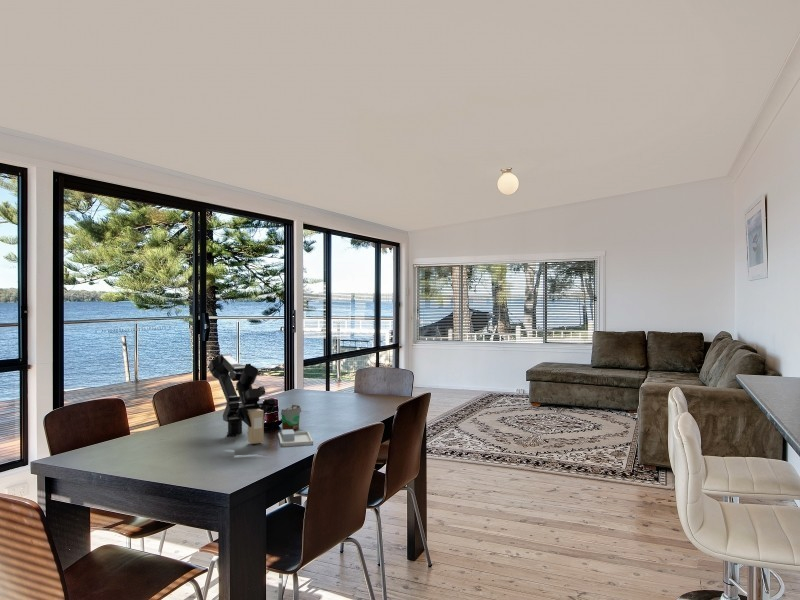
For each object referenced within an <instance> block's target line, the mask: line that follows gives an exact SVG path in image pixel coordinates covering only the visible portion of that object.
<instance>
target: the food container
mask: <svg viewBox="0 0 800 600" xmlns="http://www.w3.org/2000/svg"><path fill="white" fill-rule="evenodd" d="M301 412H302V407H301V406H300V405H298V404H291V406H290V407H287V408H286V409H281V410H280V415H281V422H282V423H281V426H282V428H281V431H282V430H290V429H293V431H298V430H299V429H300V428H299V427H300V417H301V416H300V415H301Z"/></svg>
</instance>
